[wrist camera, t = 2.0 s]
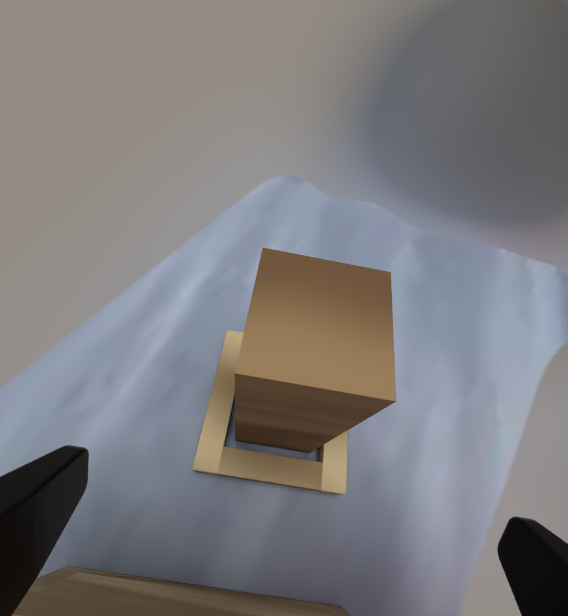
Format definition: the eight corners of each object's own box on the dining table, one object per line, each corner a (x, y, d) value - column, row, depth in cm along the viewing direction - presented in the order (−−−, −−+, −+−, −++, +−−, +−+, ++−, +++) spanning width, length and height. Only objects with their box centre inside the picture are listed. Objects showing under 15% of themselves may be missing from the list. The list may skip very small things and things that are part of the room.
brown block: (309, 453, 17) (396, 401, 8) (235, 440, 17) (234, 372, 8) (315, 381, 19) (390, 272, 10) (249, 369, 19) (262, 247, 10)
